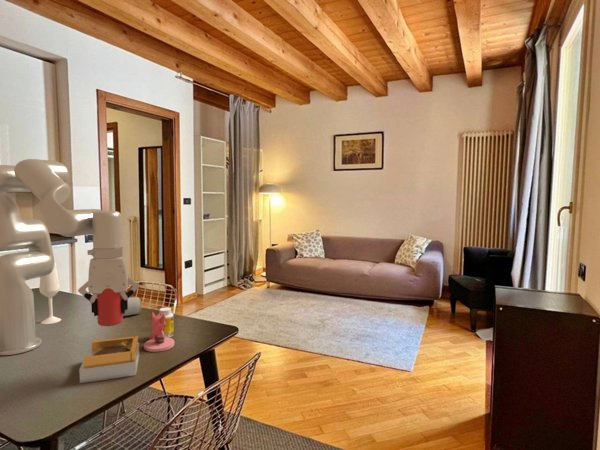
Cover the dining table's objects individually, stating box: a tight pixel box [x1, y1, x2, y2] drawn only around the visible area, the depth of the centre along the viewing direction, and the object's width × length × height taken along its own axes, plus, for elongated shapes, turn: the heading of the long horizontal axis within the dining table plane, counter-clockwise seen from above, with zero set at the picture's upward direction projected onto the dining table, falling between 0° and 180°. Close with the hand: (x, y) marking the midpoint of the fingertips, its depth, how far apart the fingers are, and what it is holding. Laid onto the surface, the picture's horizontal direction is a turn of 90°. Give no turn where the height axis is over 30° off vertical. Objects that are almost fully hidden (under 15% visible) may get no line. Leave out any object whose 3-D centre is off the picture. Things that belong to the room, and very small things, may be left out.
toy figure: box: [143, 310, 175, 353], centre depth 123 cm, size 10×10×12 cm
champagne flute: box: [39, 260, 62, 325], centre depth 144 cm, size 7×7×24 cm
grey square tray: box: [78, 335, 140, 384], centre depth 108 cm, size 14×14×6 cm
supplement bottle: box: [156, 307, 175, 338], centre depth 131 cm, size 6×6×10 cm
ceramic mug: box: [123, 296, 142, 317], centre depth 155 cm, size 11×8×8 cm
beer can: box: [97, 286, 124, 327], centre depth 106 cm, size 7×7×12 cm
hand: (110, 313), depth 106 cm, fingers closed on beer can, 6 cm apart
